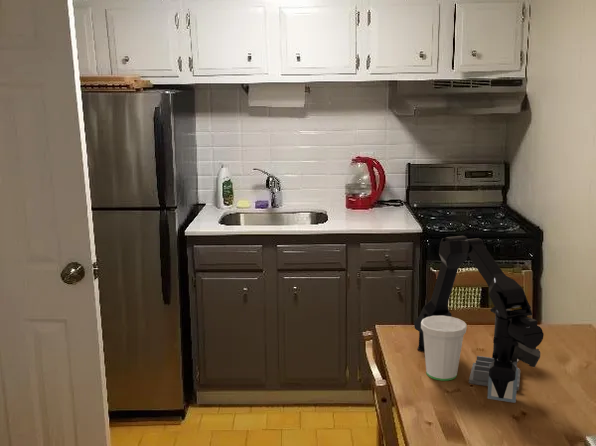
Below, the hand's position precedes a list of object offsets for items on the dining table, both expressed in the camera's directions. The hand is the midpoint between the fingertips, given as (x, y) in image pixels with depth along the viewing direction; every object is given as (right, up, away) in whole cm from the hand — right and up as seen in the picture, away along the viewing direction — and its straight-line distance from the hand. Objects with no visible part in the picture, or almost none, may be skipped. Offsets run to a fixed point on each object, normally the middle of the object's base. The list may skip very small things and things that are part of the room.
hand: (502, 390), depth 167 cm
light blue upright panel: (0, -3, 0) cm, 3 cm away
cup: (-12, 0, +15) cm, 20 cm away
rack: (+2, 0, +13) cm, 13 cm away
